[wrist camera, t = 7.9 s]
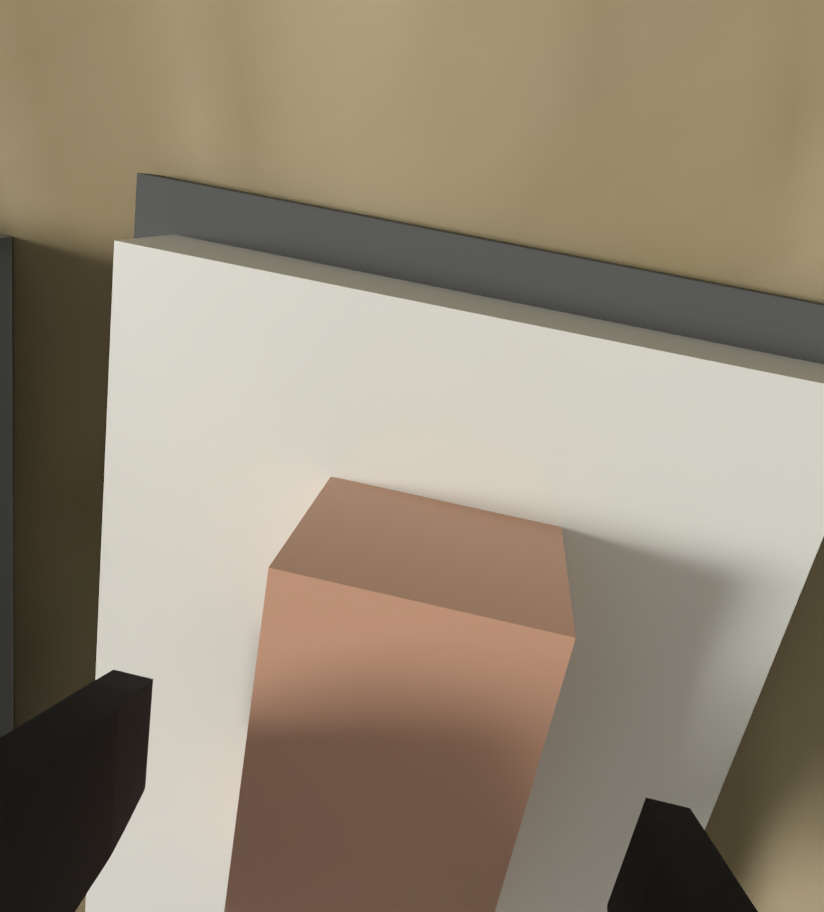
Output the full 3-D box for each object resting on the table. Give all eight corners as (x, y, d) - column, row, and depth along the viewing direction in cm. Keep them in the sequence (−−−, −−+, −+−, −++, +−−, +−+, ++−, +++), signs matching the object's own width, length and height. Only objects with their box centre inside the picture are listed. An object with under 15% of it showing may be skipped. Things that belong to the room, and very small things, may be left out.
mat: (620, 974, 17) (624, 996, 17) (113, 843, 18) (102, 861, 17) (875, 314, 12) (890, 318, 11) (151, 174, 13) (137, 173, 12)
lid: (597, 970, 16) (628, 1280, 12) (132, 850, 17) (-15, 1096, 12) (823, 364, 12) (1024, 471, 7) (175, 234, 13) (-33, 254, 8)
